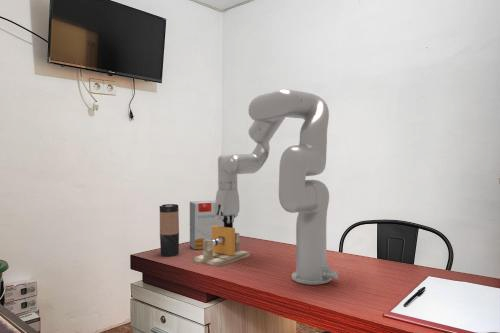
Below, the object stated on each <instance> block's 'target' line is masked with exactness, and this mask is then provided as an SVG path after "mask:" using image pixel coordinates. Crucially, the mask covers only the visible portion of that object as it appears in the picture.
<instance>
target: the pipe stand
mask: <svg viewBox="0 0 500 333" xmlns="http://www.w3.org/2000/svg"><path fill="white" fill-rule="evenodd" d="M235 236H236V239H235V254H234V255H227V254H222V253H217V252H213V240H207V239H206V240H203V249H202V254H200V255H196V256H193V262H196V263H202V264H205V265H206V264H207V265H211V266H215V267H222V266H225V265H226V266H227V265H228V264H231V263H234V262H237V261H239V260H240V261H241V260H242V259H245V258H248V257H250V256H251V255H250V251H244V250H241V249H240V232H235Z"/></svg>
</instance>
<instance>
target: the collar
mask: <svg viewBox="0 0 500 333" xmlns="http://www.w3.org/2000/svg"><path fill="white" fill-rule="evenodd" d="M235 233H236V228H235V227H233V228H229V227H222V226H212V240H213V239H217V238H221V237H225V244H224V243H223V244H219V245H217V246H213V252H217V253H222V254H227V255H234V254H235Z"/></svg>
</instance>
